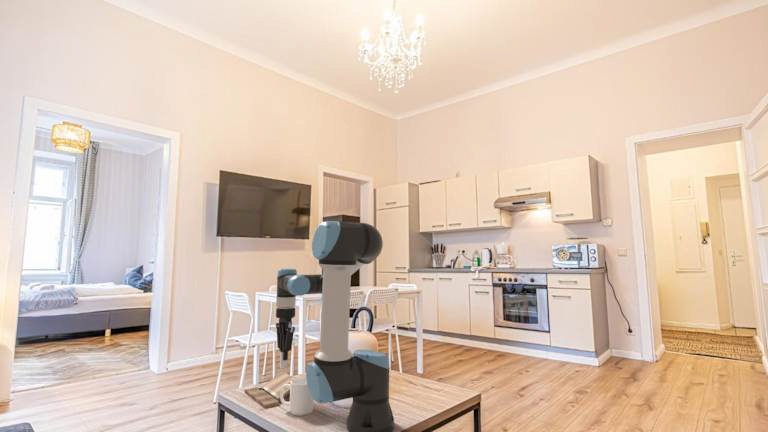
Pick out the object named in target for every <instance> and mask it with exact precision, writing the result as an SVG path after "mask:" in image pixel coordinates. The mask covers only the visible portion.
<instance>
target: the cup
mask: <svg viewBox="0 0 768 432" xmlns="http://www.w3.org/2000/svg"><path fill="white" fill-rule="evenodd" d="M285 388H290V393H289V401H286V400H285V398H283V392H284V389H285ZM280 400H281V401H280V403H281V404H283V405H284V406H286V407H289V408H288V409H289V413H290V414H291V415H293V416H307V415H310V414H312V413H313V411H314V408H315V405H314V403H315V400H314V399H313V398H312V396H311V394H310V392H309V389H308V385H307V380H306V377H297V378H295V379H293V380H291V381H290V384H285V385H283V386H282V388H281V391H280Z"/></svg>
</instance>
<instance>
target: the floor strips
mask: <svg viewBox="0 0 768 432" xmlns="http://www.w3.org/2000/svg"><path fill="white" fill-rule="evenodd" d="M258 387H259V386H256V387H255V386H254V387H251V388H246V389H244V393H245V395H247V396H248V397H250V398H251V399H252V400H253V401H255V402H256V403H257V404H259V405H260V406H261V407H262V408H263V409H267V408H270V407H275V406H279V405H280V401H278V400H276V399H275V398H274V397H272V396H271V395H269V394H268V393H267V392H265V391H264V390H262V391H261V390H259V389H257V388H258Z"/></svg>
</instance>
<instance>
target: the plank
mask: <svg viewBox="0 0 768 432" xmlns="http://www.w3.org/2000/svg"><path fill="white" fill-rule="evenodd" d="M293 379H296V378H295V377H294V376H292V375H290V374H288V373H286V372H285V371H283V370H281V371H280V372H279V373H278V374H276V375H275V376H274V377H273V378H272V379H270V380H269V381H268V382H266V383H265V384H264V385H262V386H261V387H262V388H261V389H264V390H265V391H266V392H267V393H268V394H269V395H271V396H272V397H274V398H275V399H276V400H278V401H279V402H281V400H280V391H281V388H282V386H283V385H285V384H290V381H291V380H293ZM288 395H290V388H285V389H284V392H283V399H285V398H286V397H287V396H288Z"/></svg>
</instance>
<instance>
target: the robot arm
mask: <svg viewBox="0 0 768 432" xmlns="http://www.w3.org/2000/svg"><path fill="white" fill-rule="evenodd" d="M383 244H384V243H383V237H382V235H381V232H380V231H379V230H378V229H377V228H376V227H375V226H374V225H372V224H370V223H366V222H352V221H340V220H329V221H328V220H327V221H322V222H321V223H320V224H319V225H318V226H317V227H316V229H315V231H314V233H313V238H312V242H311V249H312V255H313V257H314V258H315V259H316V260H318V266H319V267H320V268H321V270H322V274H297V269H296V268H279V269H278V270H277V277H276V279H277V281H276V299H275V300H276V303H275V306H276V307H277V308H276V309H275V317H276V318H277V319H278V322H276V323H275V328H276V337H277V338H276V340H277V343H276V345H277V349H279V369H280V370H284V369H288V367H289V366H288V364H289V363H288V362H289V352H290V351H292V346H293V340H294V333H295V331H296V326H293V321H292V319H294V318H296V308H295V307H296V303H297V302H296V301H297V296H299V297H301V296H304V295H316V294H317V295H321V313H320V333H319V335H320V336H319V349H318V350H317V351H316V352H315V353H314V357H313V361H312V362H310V363H308V365H307V366H306V367H307V368H306V369H305V378H306V380H307V385H308V389H309V392H310V394H311V396H312V398H313V399H314V402H316V403H317V404H328V403H330V404H331V403H333V402H338V401H342V400H347V399H351V398H352V403H351V405H350V409H349V412H348V416H347V418H346V429H347V431H348V432H392V431H394V428H395V418H394V414H393V410H392V407H391V403H390V357H389V356H388V355H387V354H386V353H384V352H380V351H376V350H370V349H357V350H356V349H355V350H354V351H353V353H352V352H351V350H349V333H350V332H349V331H350V307H351V303H350V302H351V283H352V282H351V281H352V275H353V274H355V273H356V272H357V271H358V270H359V269H361V268H362V267H363V266H364V265H369V264H371V263H372V262H374V261H375V260H376V259H377V258H378V257H379V256H380V255H381V252H382V250H383V246H384V245H383Z"/></svg>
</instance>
